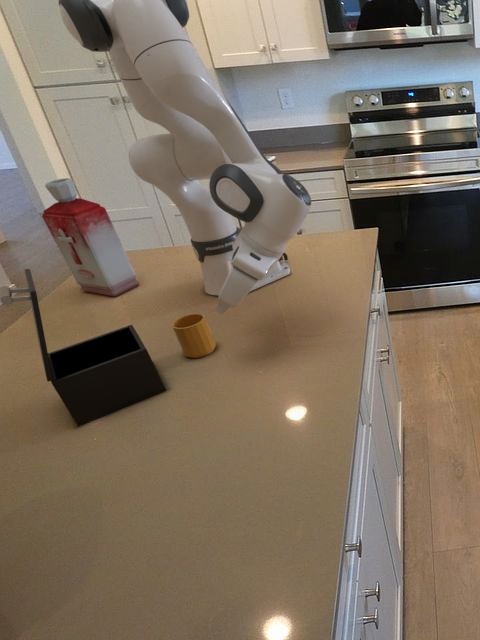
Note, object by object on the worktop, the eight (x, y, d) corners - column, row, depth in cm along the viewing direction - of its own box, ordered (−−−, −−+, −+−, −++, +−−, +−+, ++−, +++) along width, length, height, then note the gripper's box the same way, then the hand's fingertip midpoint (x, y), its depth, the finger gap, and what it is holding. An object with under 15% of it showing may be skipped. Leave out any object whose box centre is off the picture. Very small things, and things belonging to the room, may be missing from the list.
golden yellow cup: (211, 340, 128) (199, 310, 124) (220, 350, 124) (208, 320, 119) (182, 351, 125) (168, 321, 121) (189, 362, 120) (176, 331, 116)
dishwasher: (151, 364, 122) (132, 324, 116) (166, 390, 112) (146, 348, 107) (69, 395, 114) (44, 354, 109) (78, 426, 105) (51, 383, 99)
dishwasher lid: (29, 268, 102) (-5, 270, 99) (36, 290, 93) (-2, 293, 90) (45, 352, 109) (13, 355, 106) (53, 380, 99) (18, 385, 96)
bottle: (144, 283, 160) (95, 176, 144) (111, 299, 152) (55, 188, 136) (111, 278, 166) (60, 174, 150) (78, 293, 158) (20, 186, 142)
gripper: (251, 224, 122) (220, 273, 126) (232, 260, 105) (197, 315, 109) (278, 241, 125) (246, 288, 129) (264, 278, 108) (228, 331, 112)
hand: (224, 301), depth 119 cm, fingers open, 8 cm apart
